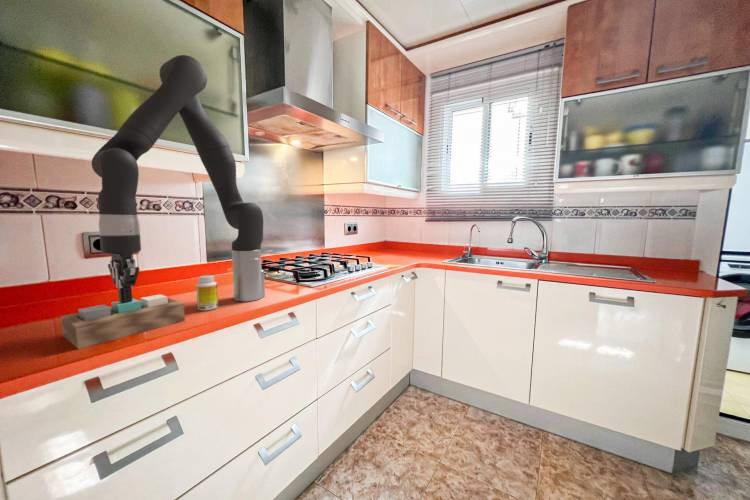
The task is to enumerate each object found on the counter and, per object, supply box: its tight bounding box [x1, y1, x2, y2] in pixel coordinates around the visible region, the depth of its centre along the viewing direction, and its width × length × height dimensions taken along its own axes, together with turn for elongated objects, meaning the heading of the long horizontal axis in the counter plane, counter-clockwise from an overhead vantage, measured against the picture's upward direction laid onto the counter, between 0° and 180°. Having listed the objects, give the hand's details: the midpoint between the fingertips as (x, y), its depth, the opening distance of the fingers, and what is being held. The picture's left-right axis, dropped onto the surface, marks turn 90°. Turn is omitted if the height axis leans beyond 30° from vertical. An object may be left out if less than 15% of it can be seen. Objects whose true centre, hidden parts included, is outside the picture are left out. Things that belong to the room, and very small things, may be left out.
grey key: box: [78, 304, 111, 321], centre depth 69 cm, size 4×4×4 cm
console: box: [60, 297, 186, 350], centre depth 75 cm, size 21×12×5 cm, turn 147°
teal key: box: [111, 298, 141, 314], centre depth 74 cm, size 4×4×4 cm
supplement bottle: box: [195, 274, 219, 312], centre depth 91 cm, size 6×6×10 cm
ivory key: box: [140, 293, 169, 308], centre depth 79 cm, size 4×4×4 cm
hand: (125, 301), depth 74 cm, fingers closed
